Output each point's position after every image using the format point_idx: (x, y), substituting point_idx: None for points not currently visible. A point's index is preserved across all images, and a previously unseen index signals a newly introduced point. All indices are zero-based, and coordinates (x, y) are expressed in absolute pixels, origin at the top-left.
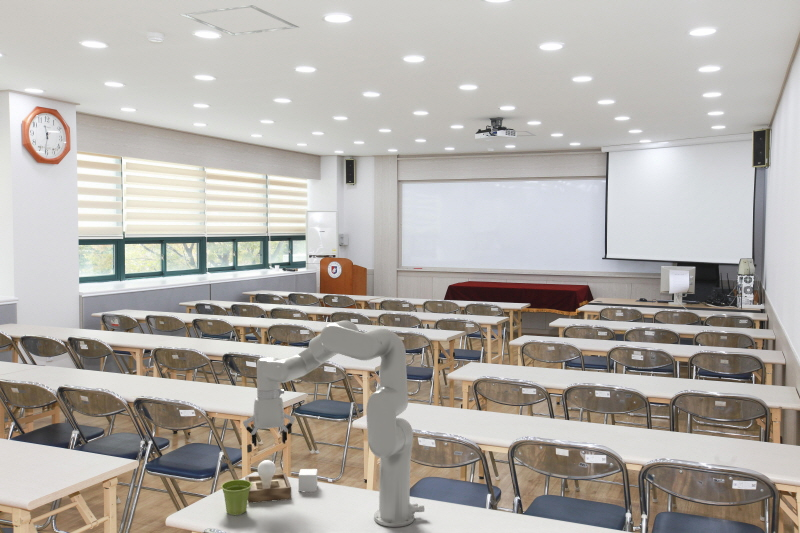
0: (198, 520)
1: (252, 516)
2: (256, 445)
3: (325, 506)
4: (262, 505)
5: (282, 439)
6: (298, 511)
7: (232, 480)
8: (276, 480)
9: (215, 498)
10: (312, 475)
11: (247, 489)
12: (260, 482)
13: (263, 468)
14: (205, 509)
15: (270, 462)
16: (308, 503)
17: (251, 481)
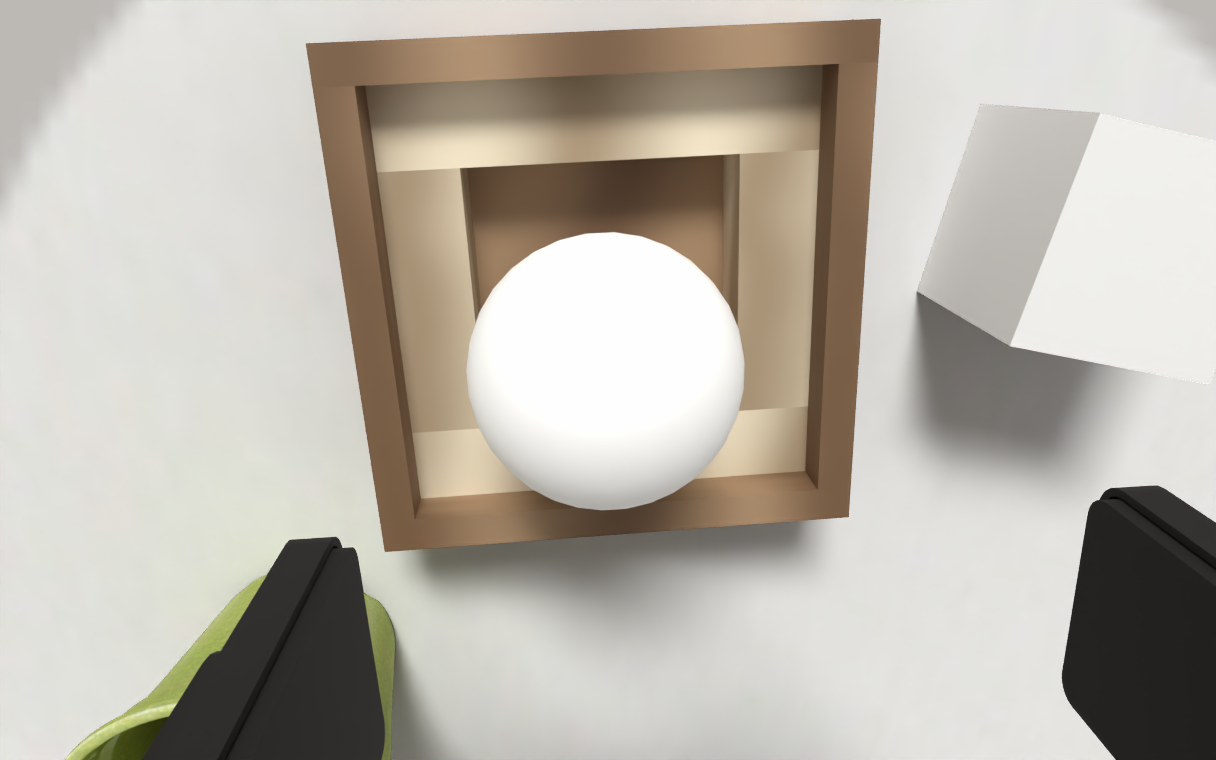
0: (9, 749)
1: (453, 736)
2: (379, 752)
3: (1051, 645)
4: (538, 551)
5: (1124, 605)
6: (822, 700)
7: (148, 716)
8: (725, 145)
9: (39, 309)
10: (1166, 375)
11: None
12: (522, 163)
13: (555, 499)
14: (7, 557)
15: (676, 460)
16: (937, 571)
17: (405, 113)
